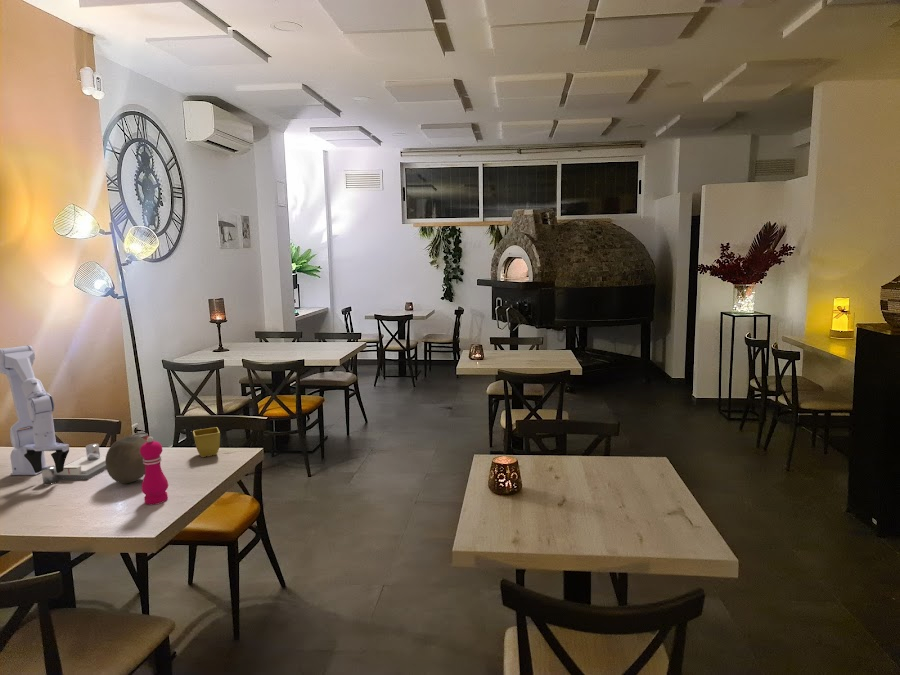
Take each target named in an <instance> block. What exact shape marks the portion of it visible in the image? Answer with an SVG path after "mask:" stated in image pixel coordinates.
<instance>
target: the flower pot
mask: <svg viewBox="0 0 900 675" xmlns="http://www.w3.org/2000/svg"><path fill="white" fill-rule="evenodd" d="M192 434H193V439H194V444H195V447H196V450H197V453H198V455H199V456H200V457H201V458H205V457H206V456H207V457H212V455H213V456H216V455H217V454H218V452H219V449H220V445H221V432H220V430H219V428H218V427H217V426H216V427H215V426H214V427H209V428H203V429H202V428H201V429H195V430H193V431H192Z"/></svg>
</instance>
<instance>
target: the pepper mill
mask: <svg viewBox="0 0 900 675" xmlns="http://www.w3.org/2000/svg"><path fill="white" fill-rule="evenodd" d="M162 453H163V446H162V444H161V443H160V442H159V441H157V440H154V437H153V436H149V437H148V438H147V442H146V443H144V444H143V445H142V446H141V448H140V454H141V456H142V457H143V464H145V475H144V476H143V477H144V478H143V479H142V482H141V492H142V493H143V494H144V495H145V496H144V497H143V499H144V504H146V505H150V504H152V505H159V504H161V502H162V503H164V502H166V501H167V500H168V497H169V496H168V492H167V491H166V490H168V487H169V483H168V482H169V481H168V480H167V479H168V478H167V477H166V476H165V473H164V472H163V470H162V467H161V462H162V456H161V454H162ZM163 501H164V502H163ZM158 503H159V504H158Z"/></svg>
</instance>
